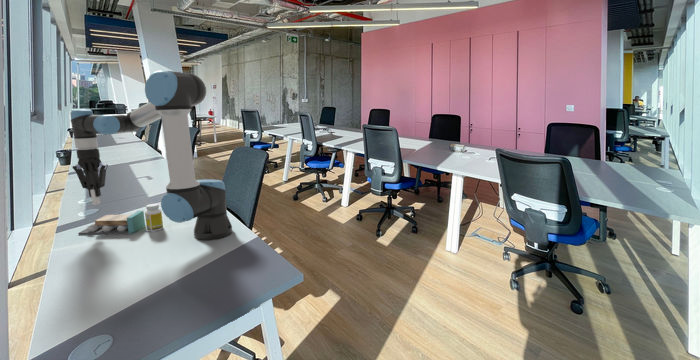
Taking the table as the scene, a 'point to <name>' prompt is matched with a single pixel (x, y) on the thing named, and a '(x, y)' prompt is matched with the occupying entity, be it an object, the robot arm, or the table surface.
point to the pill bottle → (153, 218)
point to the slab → (112, 220)
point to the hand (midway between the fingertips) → (96, 204)
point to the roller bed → (118, 226)
